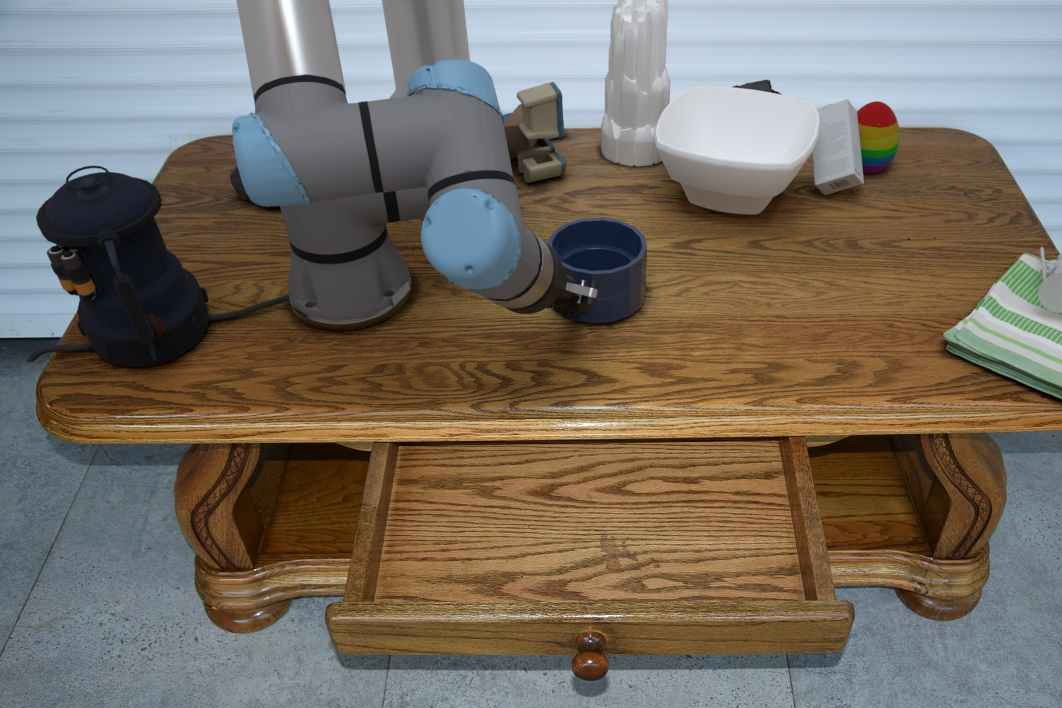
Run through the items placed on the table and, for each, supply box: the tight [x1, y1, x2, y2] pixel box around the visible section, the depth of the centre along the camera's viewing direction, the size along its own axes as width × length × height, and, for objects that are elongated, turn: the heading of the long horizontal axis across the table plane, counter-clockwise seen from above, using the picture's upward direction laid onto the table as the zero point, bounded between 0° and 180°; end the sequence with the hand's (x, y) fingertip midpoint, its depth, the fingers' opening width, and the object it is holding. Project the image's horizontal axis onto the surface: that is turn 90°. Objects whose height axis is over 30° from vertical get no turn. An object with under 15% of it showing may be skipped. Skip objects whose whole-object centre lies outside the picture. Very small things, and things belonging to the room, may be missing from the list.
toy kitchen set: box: [503, 81, 567, 184], centre depth 141 cm, size 18×14×11 cm
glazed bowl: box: [546, 217, 648, 324], centre depth 117 cm, size 12×12×8 cm
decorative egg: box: [856, 100, 901, 174], centre depth 140 cm, size 8×8×10 cm
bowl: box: [653, 85, 820, 216], centre depth 133 cm, size 22×22×12 cm
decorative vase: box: [600, 0, 671, 167], centre depth 139 cm, size 11×11×25 cm
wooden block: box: [504, 103, 538, 151], centre depth 140 cm, size 4×4×8 cm
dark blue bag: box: [35, 165, 210, 368], centre depth 106 cm, size 15×21×20 cm
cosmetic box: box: [811, 98, 865, 196], centre depth 136 cm, size 6×4×12 cm
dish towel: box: [942, 252, 1062, 400], centre depth 113 cm, size 18×23×3 cm
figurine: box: [1038, 246, 1062, 313], centre depth 116 cm, size 5×5×12 cm
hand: (575, 307), depth 112 cm, fingers closed
